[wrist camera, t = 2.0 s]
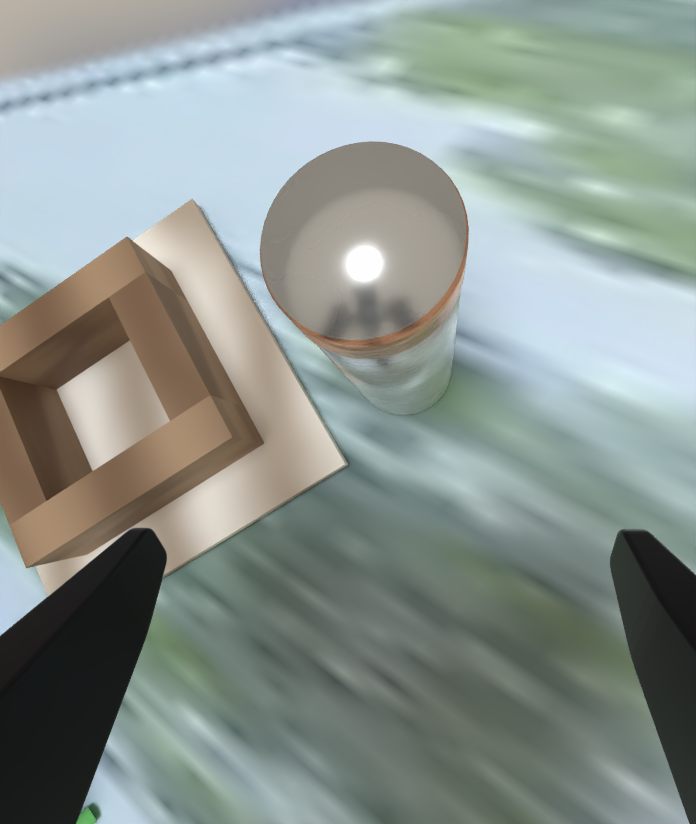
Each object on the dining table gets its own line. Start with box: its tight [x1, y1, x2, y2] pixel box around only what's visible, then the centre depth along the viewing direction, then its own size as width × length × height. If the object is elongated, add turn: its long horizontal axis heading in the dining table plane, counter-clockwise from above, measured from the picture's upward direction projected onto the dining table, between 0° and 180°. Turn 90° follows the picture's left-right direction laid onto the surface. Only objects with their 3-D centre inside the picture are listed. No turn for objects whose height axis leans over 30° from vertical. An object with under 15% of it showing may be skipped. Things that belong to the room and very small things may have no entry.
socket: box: [0, 199, 349, 596], centre depth 22 cm, size 16×16×4 cm
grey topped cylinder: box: [260, 142, 469, 415], centre depth 16 cm, size 4×4×12 cm
